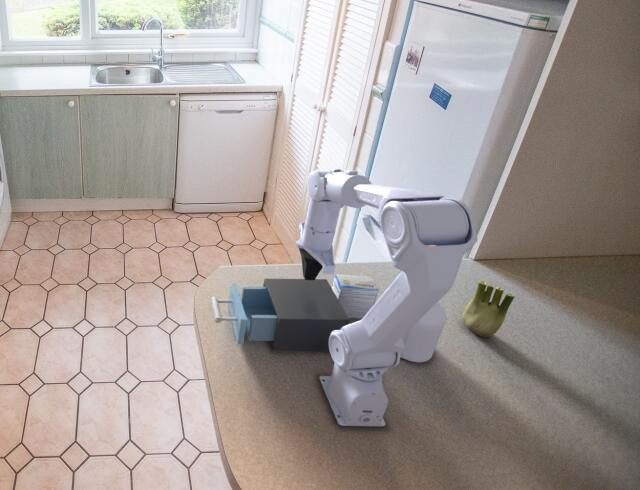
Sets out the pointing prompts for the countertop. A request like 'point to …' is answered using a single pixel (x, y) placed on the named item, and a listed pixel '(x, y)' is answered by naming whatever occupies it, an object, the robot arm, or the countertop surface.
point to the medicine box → (355, 294)
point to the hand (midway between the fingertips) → (308, 278)
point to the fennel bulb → (486, 310)
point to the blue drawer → (249, 313)
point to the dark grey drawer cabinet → (304, 313)
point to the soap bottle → (424, 335)
